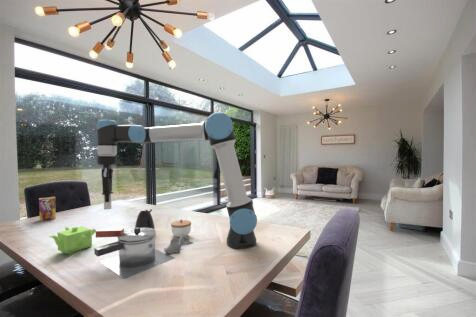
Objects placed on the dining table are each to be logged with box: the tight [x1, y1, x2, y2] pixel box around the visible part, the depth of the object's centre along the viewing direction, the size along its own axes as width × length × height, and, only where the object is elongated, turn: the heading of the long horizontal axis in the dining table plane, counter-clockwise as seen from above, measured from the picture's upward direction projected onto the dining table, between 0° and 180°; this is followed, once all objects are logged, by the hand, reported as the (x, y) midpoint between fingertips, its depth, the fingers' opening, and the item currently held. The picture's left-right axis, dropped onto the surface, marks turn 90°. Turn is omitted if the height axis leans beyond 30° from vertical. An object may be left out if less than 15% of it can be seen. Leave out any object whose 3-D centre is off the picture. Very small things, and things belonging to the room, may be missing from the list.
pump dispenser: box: [134, 208, 156, 230], centre depth 132 cm, size 10×10×15 cm
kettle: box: [48, 226, 97, 256], centre depth 114 cm, size 15×14×11 cm
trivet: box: [99, 248, 175, 280], centre depth 102 cm, size 22×22×1 cm
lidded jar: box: [170, 219, 192, 238], centre depth 133 cm, size 11×11×9 cm
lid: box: [95, 227, 157, 242], centre depth 101 cm, size 23×15×3 cm, turn 96°
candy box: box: [38, 196, 57, 222], centre depth 169 cm, size 9×4×15 cm, turn 127°
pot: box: [93, 235, 156, 268], centre depth 98 cm, size 23×15×10 cm, turn 141°
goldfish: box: [163, 236, 194, 255], centre depth 117 cm, size 20×10×9 cm
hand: (107, 208), depth 107 cm, fingers closed
